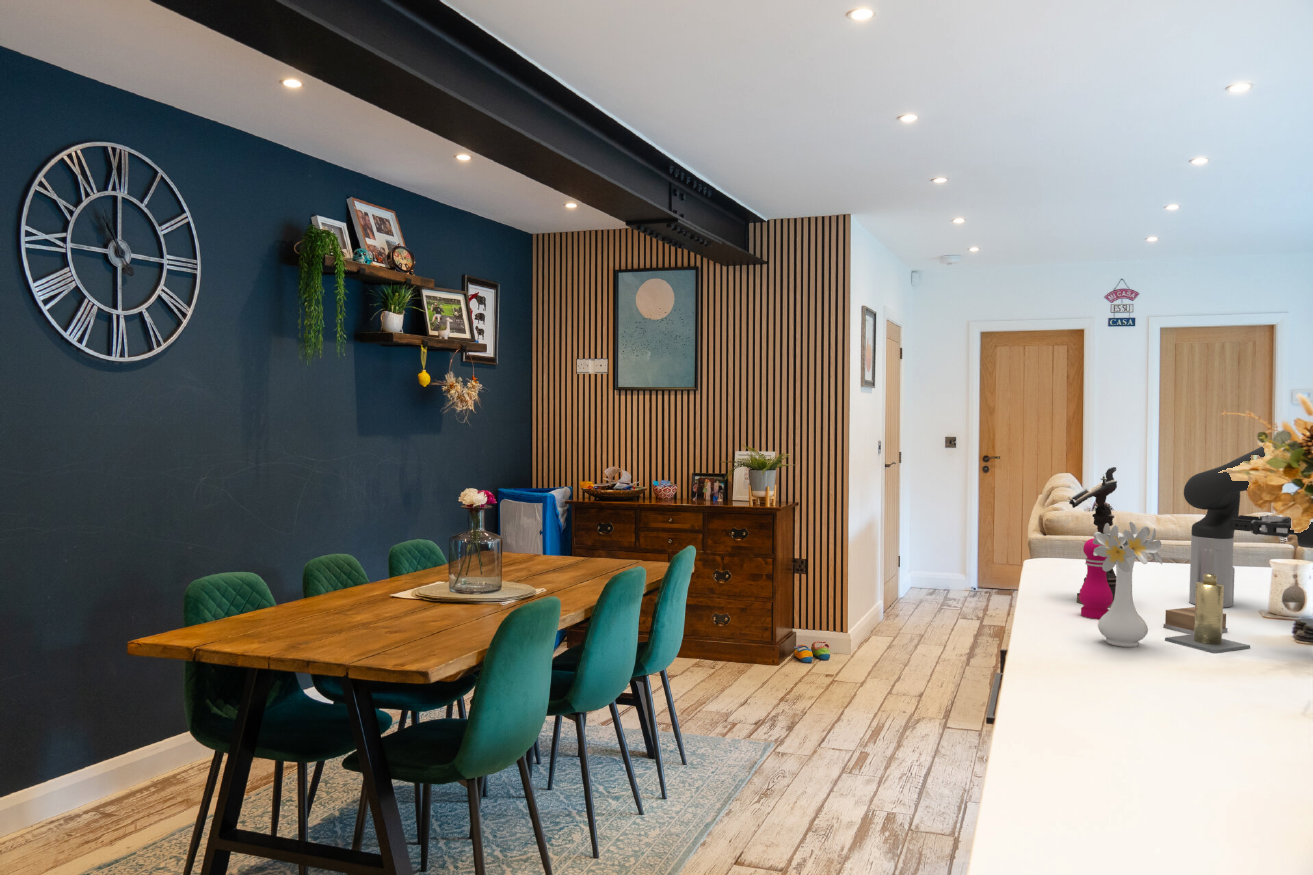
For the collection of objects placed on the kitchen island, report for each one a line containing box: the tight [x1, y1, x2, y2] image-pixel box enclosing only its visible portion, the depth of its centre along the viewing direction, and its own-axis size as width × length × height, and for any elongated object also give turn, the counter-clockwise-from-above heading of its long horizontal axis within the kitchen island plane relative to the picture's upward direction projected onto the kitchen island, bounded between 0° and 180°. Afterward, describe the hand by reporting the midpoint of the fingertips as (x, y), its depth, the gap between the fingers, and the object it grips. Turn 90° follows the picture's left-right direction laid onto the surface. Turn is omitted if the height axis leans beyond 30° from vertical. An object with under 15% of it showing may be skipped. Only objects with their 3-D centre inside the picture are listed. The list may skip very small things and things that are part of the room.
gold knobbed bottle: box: [1194, 574, 1224, 644], centre depth 195 cm, size 5×5×14 cm
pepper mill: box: [1079, 531, 1113, 620], centre depth 221 cm, size 7×7×20 cm
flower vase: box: [1093, 521, 1163, 648], centre depth 194 cm, size 13×18×25 cm
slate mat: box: [1164, 634, 1251, 654], centre depth 196 cm, size 11×11×1 cm
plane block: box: [1162, 606, 1228, 635], centre depth 209 cm, size 10×8×4 cm
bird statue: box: [1067, 466, 1118, 609], centre depth 237 cm, size 17×13×35 cm
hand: (1233, 522), depth 197 cm, fingers open, 8 cm apart
